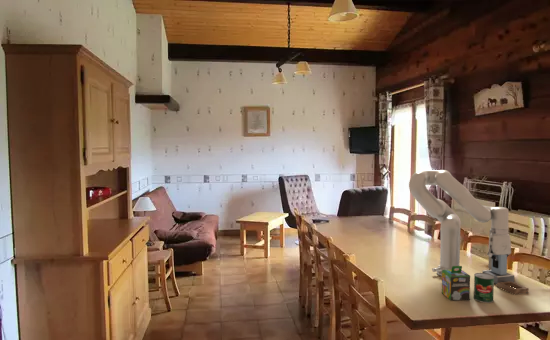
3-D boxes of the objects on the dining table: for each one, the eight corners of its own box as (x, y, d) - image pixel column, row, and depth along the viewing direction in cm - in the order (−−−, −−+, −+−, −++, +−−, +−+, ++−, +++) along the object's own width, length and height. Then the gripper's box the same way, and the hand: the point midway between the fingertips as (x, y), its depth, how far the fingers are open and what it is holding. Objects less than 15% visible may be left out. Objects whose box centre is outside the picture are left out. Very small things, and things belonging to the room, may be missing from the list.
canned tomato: (487, 295, 182) (487, 272, 181) (497, 302, 174) (498, 278, 174) (470, 296, 182) (470, 272, 181) (479, 303, 174) (480, 278, 173)
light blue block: (500, 275, 198) (501, 254, 197) (491, 271, 204) (491, 251, 203) (506, 274, 199) (507, 253, 198) (497, 270, 204) (497, 250, 204)
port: (497, 285, 196) (497, 276, 195) (482, 278, 205) (482, 270, 205) (514, 283, 198) (514, 275, 198) (498, 277, 208) (498, 269, 207)
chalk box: (460, 292, 186) (460, 262, 185) (470, 300, 177) (471, 268, 176) (440, 293, 186) (441, 262, 185) (450, 300, 177) (450, 268, 176)
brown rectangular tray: (514, 294, 183) (514, 290, 183) (497, 287, 193) (497, 282, 193) (528, 292, 185) (528, 288, 185) (510, 285, 195) (510, 281, 195)
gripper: (491, 234, 194) (491, 270, 195) (519, 232, 198) (518, 267, 199) (480, 231, 202) (479, 266, 203) (507, 229, 206) (506, 263, 207)
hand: (498, 266), depth 201 cm, fingers closed on light blue block, 3 cm apart
